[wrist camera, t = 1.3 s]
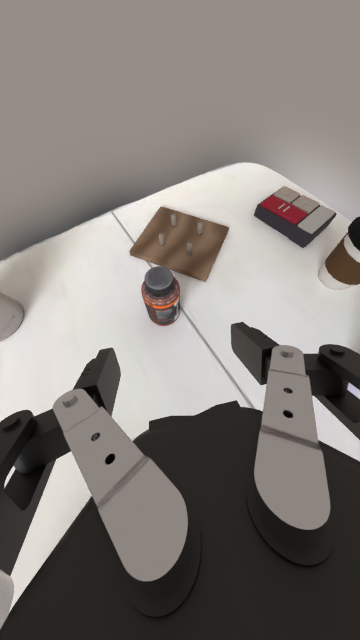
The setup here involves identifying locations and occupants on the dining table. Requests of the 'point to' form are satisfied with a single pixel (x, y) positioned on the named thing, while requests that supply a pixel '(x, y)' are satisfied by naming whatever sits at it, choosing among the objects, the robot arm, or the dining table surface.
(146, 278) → the supplement bottle
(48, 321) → the dining table surface
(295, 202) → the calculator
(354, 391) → the spray bottle
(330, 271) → the coffee cup
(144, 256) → the pin tray
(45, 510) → the dining table surface
